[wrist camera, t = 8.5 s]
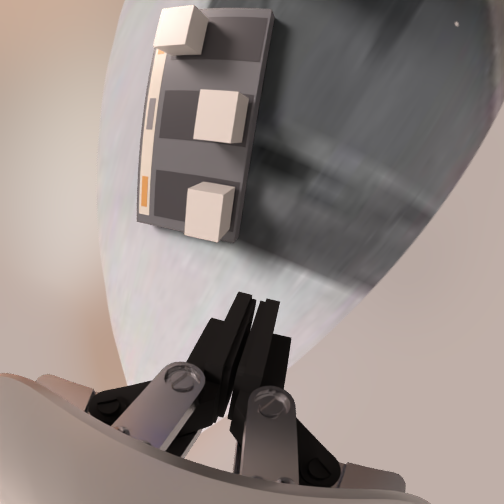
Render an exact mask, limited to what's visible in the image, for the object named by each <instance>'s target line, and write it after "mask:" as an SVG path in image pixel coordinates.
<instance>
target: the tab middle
mask: <svg viewBox="0 0 504 504" xmlns="http://www.w3.org/2000/svg"><path fill="white" fill-rule="evenodd" d="M248 101H249V98H248V97H246V96H245V95H243V94H241V93H240V92H235V91H223V90H205V89H200V95H199V101H198V108H197V114H196V122H195V129H194V137H193V139H199V140H208V141H216V142H224V143H242V138H243V132H244V126H245V119H246V113H247V107H248Z"/></svg>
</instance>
